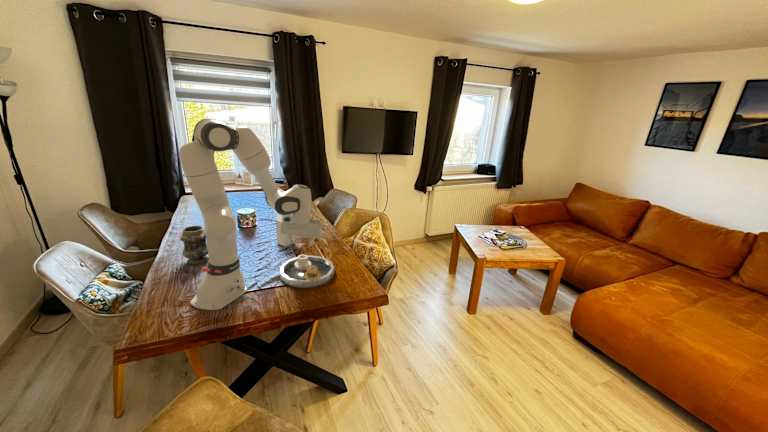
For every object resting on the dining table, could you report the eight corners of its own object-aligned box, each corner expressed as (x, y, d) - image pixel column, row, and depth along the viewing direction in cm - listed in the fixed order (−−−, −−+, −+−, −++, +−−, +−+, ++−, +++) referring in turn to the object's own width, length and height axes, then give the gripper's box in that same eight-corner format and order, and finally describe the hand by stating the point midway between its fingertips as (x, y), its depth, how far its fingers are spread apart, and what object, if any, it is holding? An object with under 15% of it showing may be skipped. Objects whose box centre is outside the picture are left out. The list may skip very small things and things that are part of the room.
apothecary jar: (207, 253, 163) (203, 222, 157) (214, 262, 155) (210, 229, 149) (181, 259, 155) (175, 227, 149) (187, 269, 147) (181, 235, 141)
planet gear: (309, 271, 152) (309, 261, 150) (292, 270, 152) (292, 260, 150) (312, 262, 160) (312, 253, 158) (296, 262, 159) (296, 252, 158)
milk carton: (285, 247, 176) (283, 216, 170) (277, 243, 180) (275, 213, 173) (294, 243, 182) (293, 213, 176) (286, 239, 186) (285, 210, 179)
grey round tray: (322, 292, 137) (322, 278, 135) (269, 283, 141) (268, 269, 139) (340, 265, 161) (341, 253, 159) (294, 257, 165) (294, 245, 163)
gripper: (324, 218, 149) (323, 243, 154) (283, 213, 150) (284, 239, 154) (321, 222, 143) (320, 248, 148) (278, 217, 144) (279, 244, 148)
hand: (301, 243), depth 151 cm, fingers open, 8 cm apart
